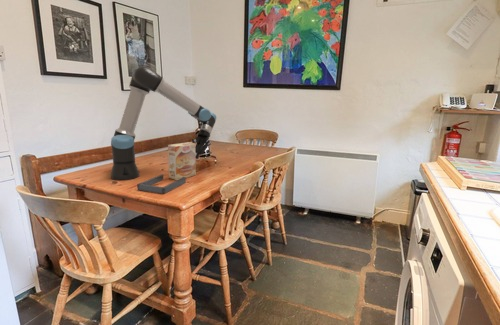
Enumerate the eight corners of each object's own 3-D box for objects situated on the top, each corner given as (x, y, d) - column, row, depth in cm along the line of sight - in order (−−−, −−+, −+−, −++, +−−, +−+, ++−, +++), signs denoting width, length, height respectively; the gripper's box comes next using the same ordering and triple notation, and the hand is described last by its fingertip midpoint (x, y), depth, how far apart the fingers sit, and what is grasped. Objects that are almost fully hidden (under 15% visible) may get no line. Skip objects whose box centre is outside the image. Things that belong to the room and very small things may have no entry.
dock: (137, 190, 143) (137, 184, 142) (161, 179, 162) (161, 174, 161) (163, 194, 138) (163, 188, 138) (185, 182, 157) (185, 177, 156)
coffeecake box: (176, 180, 160) (175, 146, 156) (168, 178, 165) (167, 144, 160) (196, 175, 172) (195, 143, 168) (188, 173, 176) (187, 141, 172)
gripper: (215, 136, 191) (204, 166, 179) (198, 135, 195) (186, 164, 183) (212, 129, 185) (200, 160, 173) (194, 128, 188) (181, 158, 177)
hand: (192, 162), depth 178 cm, fingers closed
